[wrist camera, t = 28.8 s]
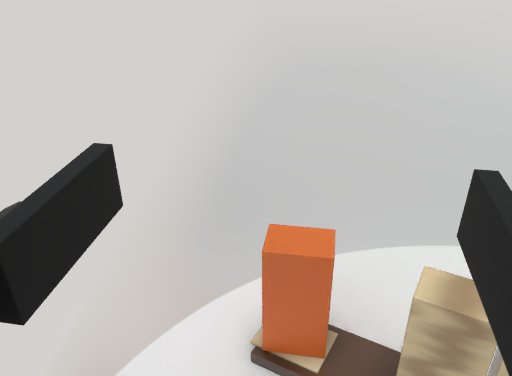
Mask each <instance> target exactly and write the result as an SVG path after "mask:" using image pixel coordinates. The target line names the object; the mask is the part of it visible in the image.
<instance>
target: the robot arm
mask: <svg viewBox="0 0 512 376" xmlns="http://www.w3.org/2000/svg"><path fill="white" fill-rule="evenodd" d="M122 206H123V202H122V196H121V191H120V185H119V180H118V174H117V169H116V163H115V157H114V152H113V146H112V144H98V143H93V144H92V145H91V146H90V147H89V148H87V149H86V150H85V151H84V152H82V153H81V154H80V155H79V156H77V157H76V158H75V159H74V160H72V161H71V162H70V163H69V164H68V165H66V166H65V167H64V168H63V169H62V170H60V171H59V172H58V173H56V174H55V175H54V176H53V177H52V178H50V179H49V180H48V181H47V182H46V183H44V184H43V185H42V186H41V187H39V188H38V189H37V190H36V191H35V192H33V193H32V194H31V195H30V196H28V197H27V198H26V199H25V200H24V201H22V202H18V203H15V204H13V205H11V206H9V207H7V208H5V209H3V210H2V211H1V212H0V322H3V323H10V324H17V325H24V324H25V323H26V322H27V321H28V320H29V318H30V317H31V316H32V315H33V314H34V312H35V311H36V310H37V309H38V307H39V306H40V305H41V304H42V303H43V301H44V300H45V299H46V298H47V296H48V295H49V294H50V293H51V292H52V291H53V289H54V288H55V287H56V286H57V285H58V283H59V282H60V281H61V280H62V279H63V277H64V276H65V275H66V274H67V273H68V271H69V270H70V269H71V268H72V267H73V265H74V264H75V263H76V261H78V259H79V258H80V257H81V256H82V254H83V253H84V252H85V251H86V250H87V248H88V247H89V246H90V245H91V244H92V242H93V241H94V240H95V239H96V238H97V236H98V235H99V234H100V233H101V231H102V230H103V229H104V228H105V227H106V226H107V224H108V223H109V222H110V221H111V220H112V218H113V217H114V216H115V215H116V214H117V212H118V211H119V210H120V209H121V208H122ZM457 238H458V241H459V243H460V246H461V249H462V251H463V254H464V257H465V259H466V262H467V265H468V267H469V270H470V273H471V275H472V278H473V281H474V283H475V286H476V289H477V291H478V294H479V297H480V299H481V302H482V305H483V308H484V310H485V313H486V316H487V318H488V321H489V324H490V326H491V329H492V332H493V334H494V337H495V340H496V342H497V345H498V348H499V350H500V353H501V356H502V358H503V361H504V364H505V366H506V369H507V372H508V374H509V376H512V191H511V189H510V188H509V186H508V185H507V183H506V182H505V180H504V179H503V177H502V176H501V174H500V173H499V171H491V170H476V169H475V170H474V172H473V176H472V180H471V184H470V188H469V191H468V195H467V199H466V203H465V207H464V211H463V214H462V218H461V222H460V226H459V230H458V233H457Z"/></svg>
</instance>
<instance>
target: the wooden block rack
mask: <svg viewBox="0 0 512 376" xmlns="http://www.w3.org/2000/svg"><path fill="white" fill-rule="evenodd" d="M250 343H251V344H253V345H255V346H256V347H255V348H254V349H253V351H252V352H251V361H252V362H254V363H256V364H258V365H260V366H263V367H265V368H267V369H269V370H271V371H273V372H275V373H277V374H279V375H282V376H486V375H487V372H488V369H489V366H490V363H491V361H492V358H493V355H494V352H495V350H496V347H497V342H496V340H495V337H494V334H493V332H492V329H491V326H490V324H489V321H488V318H487V316H486V313H485V310H484V308H483V305H482V302H481V299H480V297H479V294H478V291H477V289H476V286H475V283H474V281H473V280H471V279H468V278H464V277H461V276H458V275H454V274H451V273H448V272H445V271H441V270H438V269H435V268H431V267H428V266H425V267H424V270H423V272H422V275H421V278H420V280H419V283H418V285H417V288H416V291H415V293H414V296H413V300H412V304H411V309H410V314H409V318H408V323H407V328H406V332H405V337H404V342H403V346H402V351H401V353H400V352H398V351H395V350H393V349H390V348H388V347H385V346H383V345H380V344H378V343H375V342H373V341H370V340H367V339H365V338H362V337H360V336H357V335H355V334H352V333H350V332H347V331H345V330H342V329H340V328H337V327H334V326H332V325H329V324H328V332H327V342H326V353H325V359H323V358H316V357H308V356H301V355H293V354H286V353H279V352H271V351H264V350H263V326H262V327H261V328H260V330H259V331H258V332H257V334H256V335H255V336H254V338H253V339H252V341H251V342H250ZM487 376H509V374H508V372H507V369H506V366H505V364H504V361H503V358H502V356H501V353H500V350H499V348H497V351H496V353H495V356H494V359H493V362H492V364H491V367H490V370H489V373H488V375H487Z"/></svg>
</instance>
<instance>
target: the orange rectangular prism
mask: <svg viewBox="0 0 512 376" xmlns="http://www.w3.org/2000/svg"><path fill="white" fill-rule="evenodd" d="M334 255H335V230H332V229H320V228H310V227H298V226H287V225H276V224H269V228H268V231H267V235H266V239H265V242H264V246H263V250H262V324H263V350H264V351H271V352H279V353H286V354H293V355H301V356H308V357H316V358H323V359H325V353H326V342H327V332H328V321H329V310H330V300H331V289H332V279H333V268H334Z"/></svg>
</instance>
